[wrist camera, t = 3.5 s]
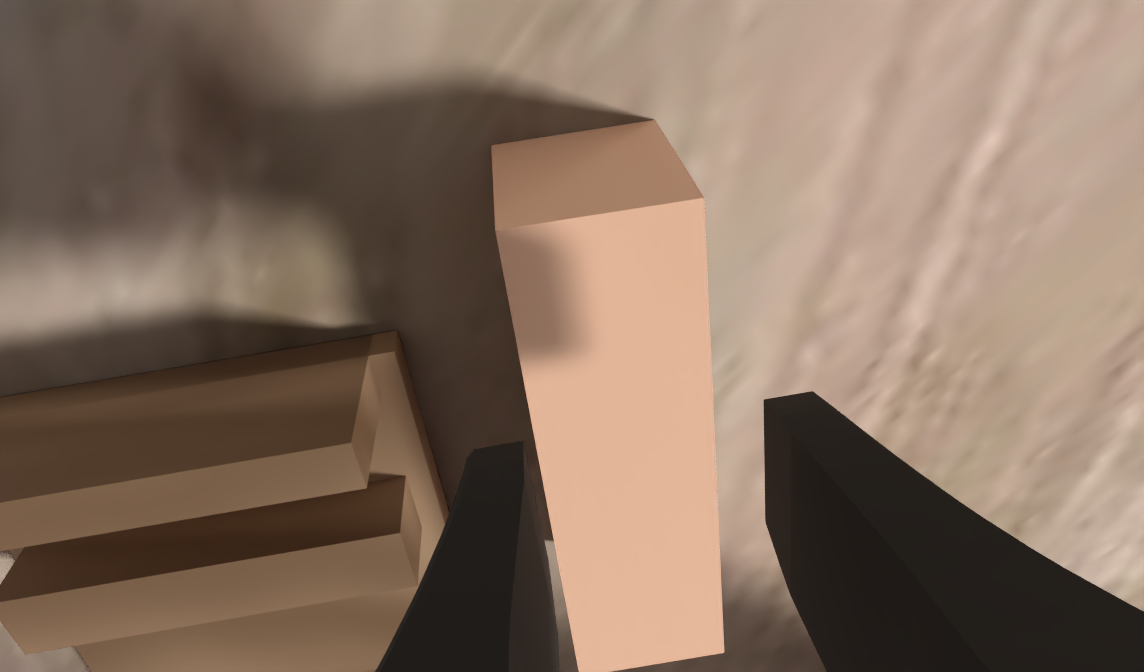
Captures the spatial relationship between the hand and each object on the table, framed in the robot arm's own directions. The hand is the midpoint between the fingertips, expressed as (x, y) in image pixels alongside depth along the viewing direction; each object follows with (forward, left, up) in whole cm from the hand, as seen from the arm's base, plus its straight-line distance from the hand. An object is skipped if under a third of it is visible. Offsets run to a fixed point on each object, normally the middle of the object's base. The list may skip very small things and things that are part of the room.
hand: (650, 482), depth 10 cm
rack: (-8, +8, -7) cm, 14 cm away
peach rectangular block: (-3, 0, -7) cm, 7 cm away
